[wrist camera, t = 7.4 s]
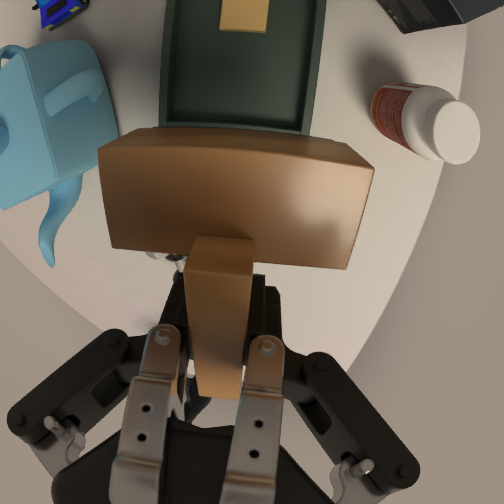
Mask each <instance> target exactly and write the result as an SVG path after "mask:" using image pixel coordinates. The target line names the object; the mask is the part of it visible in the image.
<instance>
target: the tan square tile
mask: <svg viewBox="0 0 504 504" xmlns="http://www.w3.org/2000/svg"><path fill="white" fill-rule="evenodd" d="M268 8H269V0H223V1H222V9H221V18H220V26H219V29H220V30H221V31H238V32H254V33H266V25H267V16H268Z"/></svg>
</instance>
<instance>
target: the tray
mask: <svg viewBox="0 0 504 504" xmlns="http://www.w3.org/2000/svg"><path fill="white" fill-rule="evenodd" d="M222 1H223V0H168V1H167V8H166V16H165V24H164V34H163V44H162V56H161V70H160V90H159V127H163V126H195V127H223V128H240V129H253V130H264V131H274V132H283V133H291V134H299V135H306V136H309V134H310V127H311V121H312V114H313V107H314V100H315V93H316V86H317V79H318V71H319V63H320V55H321V47H322V39H323V30H324V21H325V11H326V1H327V0H269V8H268V16H267V25H266V33H254V32H238V31H221V30H220V29H219V26H220V18H221V9H222Z"/></svg>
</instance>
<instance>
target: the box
mask: <svg viewBox="0 0 504 504" xmlns="http://www.w3.org/2000/svg"><path fill="white" fill-rule="evenodd" d="M377 1H378V2H379V3H380V5H381V6H382V7H383V8H384V10H385V11H386V12H387V13H388V15H389V16H390V17H391V18H392V20H393V21H394V22H395V24H396V25H397V26H398V28H399V29H400V31H401V32H402V33H403V34H407V33H412V32H416V31H421V30H427V29H433V28H438V27H445V26H451V25H459V24H465V23H467V22H469V21H471V20H473V19H475V18H477V17H480V16H482V15H484V14H486V13H489V12H491V11H493V10H495V9H498V8H500V7H503V6H504V0H377Z"/></svg>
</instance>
